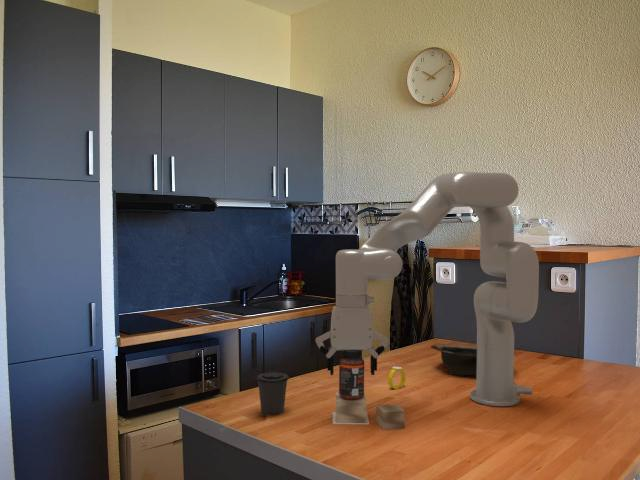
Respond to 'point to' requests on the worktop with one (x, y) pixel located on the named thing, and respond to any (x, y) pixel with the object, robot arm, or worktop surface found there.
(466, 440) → the worktop surface
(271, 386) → the coffee cup
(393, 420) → the oak block
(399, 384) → the watch
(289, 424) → the worktop surface
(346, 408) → the maple block
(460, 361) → the black cooking pot
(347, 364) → the supplement bottle
